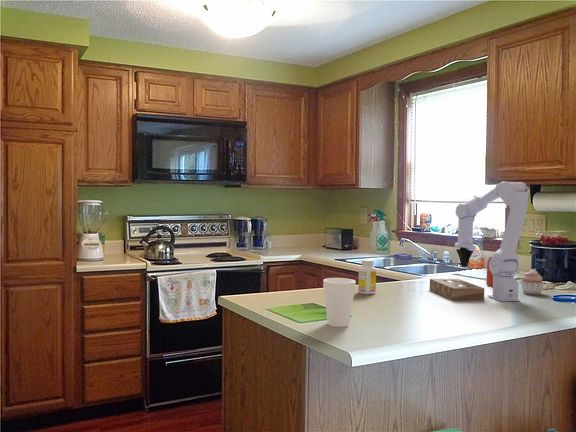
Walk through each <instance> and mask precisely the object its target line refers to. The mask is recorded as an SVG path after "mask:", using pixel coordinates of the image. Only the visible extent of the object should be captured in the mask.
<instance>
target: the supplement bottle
mask: <svg viewBox="0 0 576 432" xmlns="http://www.w3.org/2000/svg"><path fill="white" fill-rule="evenodd" d="M360 261H361V265H360V267H358V283H357V284H358V286H357V287H358V290H357V291H358V293H359V294H362V295H374V294H376V291H377V289H376V287H377V286H376V285H377V268H376V266H374V264H375V263H374V259H361V260H360Z"/></svg>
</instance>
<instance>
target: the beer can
mask: <svg viewBox="0 0 576 432" xmlns="http://www.w3.org/2000/svg"><path fill="white" fill-rule="evenodd" d="M492 257H493V256H491V257H489V256H488V259H487V262H486V284H485V285H486V286H488V287H492V288H493V275H492V273H491V271H490V269H489V262H490V260H491V259H492Z"/></svg>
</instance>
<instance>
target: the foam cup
mask: <svg viewBox="0 0 576 432" xmlns="http://www.w3.org/2000/svg"><path fill="white" fill-rule="evenodd" d="M322 281H323V283H322V284H323V285H322V287H323V292H324V293H323V294H324V301H325V311H326V320H327V321H326V322H327V325H328V326H331V327H336V328H345V327H348V326H350V322H351V317H352V310H353V308H352V307H353V302H354V296H355V291H356V289H357V288H356V283H357V282H356V280H355V279H350V278H346V277H345V278H344V277H328V278H324V279H323V280H322Z"/></svg>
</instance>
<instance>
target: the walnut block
mask: <svg viewBox="0 0 576 432" xmlns="http://www.w3.org/2000/svg"><path fill="white" fill-rule="evenodd" d="M446 281H455V282H446ZM457 285H466V286H467V287H459V286H457ZM429 291H431V292H433V293H435V294H438V295H440V296H442V297H444V298H446V299H449V300H451V301H454V302H455V301H457V302H459V301H460V302H461V301H463V302H464V301H466V302H467V301H468V302H469V301H470V302H471V301H485V287H482V286H480V285H476V284H473V283H472V282H468V281H465V280H463V279H460V278H430V279H429Z"/></svg>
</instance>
